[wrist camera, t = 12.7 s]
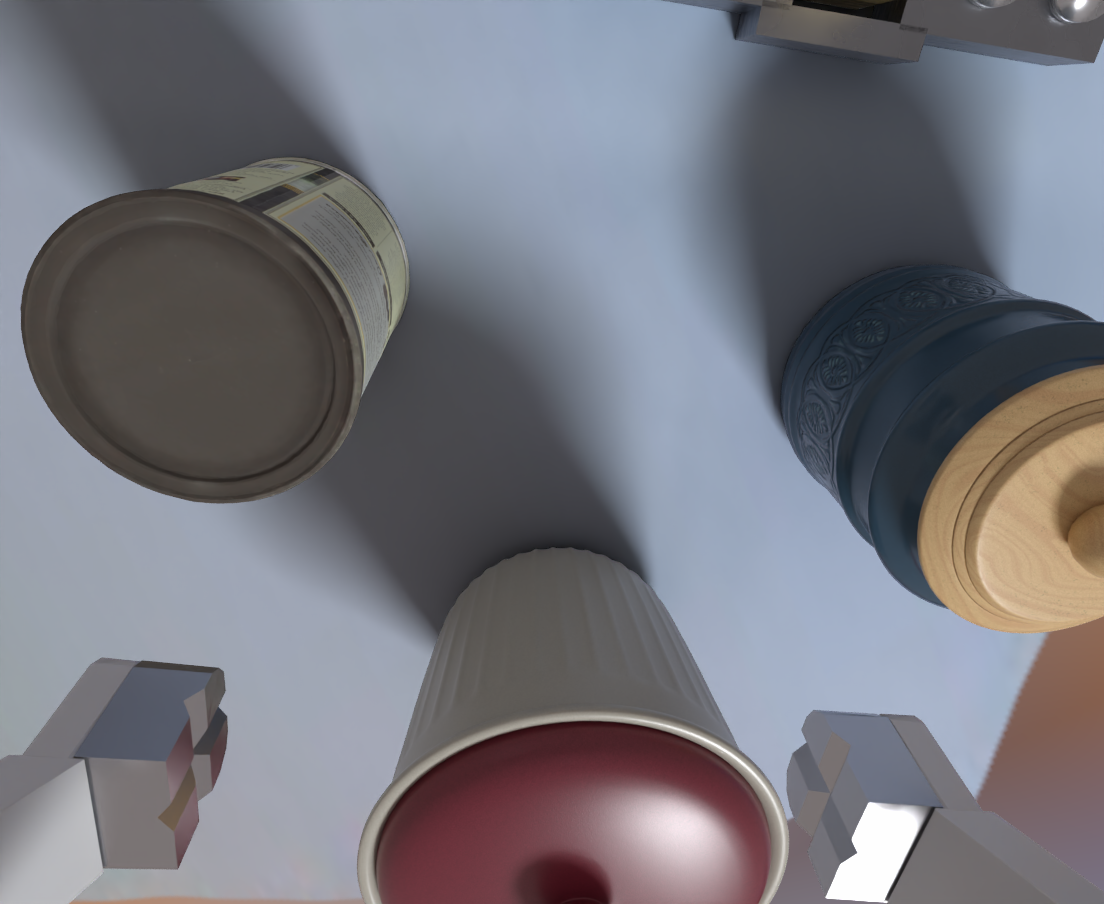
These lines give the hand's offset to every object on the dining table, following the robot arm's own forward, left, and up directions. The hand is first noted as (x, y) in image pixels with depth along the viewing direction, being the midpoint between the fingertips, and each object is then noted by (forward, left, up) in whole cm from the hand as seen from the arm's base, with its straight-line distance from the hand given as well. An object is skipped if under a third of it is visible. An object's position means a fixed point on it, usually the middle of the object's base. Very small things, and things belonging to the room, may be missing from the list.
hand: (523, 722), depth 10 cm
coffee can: (+1, -10, -29) cm, 31 cm away
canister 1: (+21, +5, -29) cm, 36 cm away
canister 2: (+3, +21, -29) cm, 36 cm away
